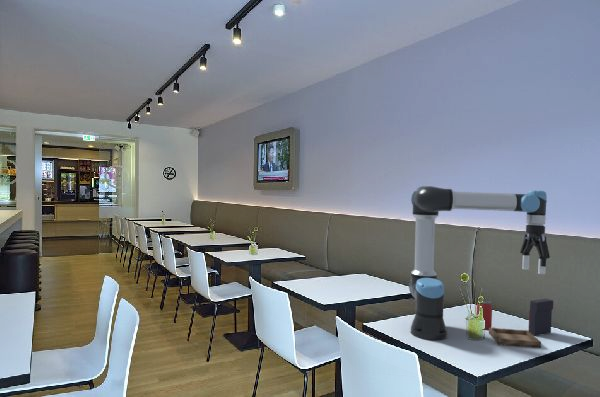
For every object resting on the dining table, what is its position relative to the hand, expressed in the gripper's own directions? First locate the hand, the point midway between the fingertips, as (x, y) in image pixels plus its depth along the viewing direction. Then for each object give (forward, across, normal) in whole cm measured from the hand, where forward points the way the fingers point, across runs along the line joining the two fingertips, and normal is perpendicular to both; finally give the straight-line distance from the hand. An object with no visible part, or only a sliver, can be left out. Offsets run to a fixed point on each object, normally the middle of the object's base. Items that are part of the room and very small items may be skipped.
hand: (533, 271), depth 188 cm
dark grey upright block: (+27, -1, -3) cm, 28 cm away
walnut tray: (+28, -11, +13) cm, 33 cm away
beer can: (+28, +4, +19) cm, 34 cm away
